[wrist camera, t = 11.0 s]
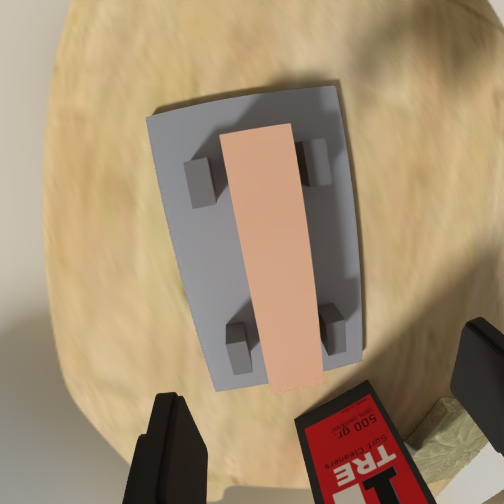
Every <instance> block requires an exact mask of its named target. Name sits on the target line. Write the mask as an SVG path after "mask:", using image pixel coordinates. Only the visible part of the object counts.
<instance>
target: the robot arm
mask: <svg viewBox="0 0 504 504" xmlns="http://www.w3.org/2000/svg"><path fill="white" fill-rule="evenodd" d="M450 388H451V392H452V393H453V395H454V396H455V397H456V398H457V400H458V401H459V402H460V404H461V405H462V406H463V407H464V409H465V410H466V411H467V413H468V414H469V415H470V417H471V418H472V419H473V421H474V422H475V423H476V425H477V426H478V427H479V429H480V430H481V431H482V433H483V434H484V435H485V437H486V438H487V439H488V441H489V442H490V443H491V445H492V446H493V447H494V449H495V450H496V451H497V452H498V453H501V454H502V455H503V456H504V335H503V334H502V333H501V332H500V331H499V330H497V329H496V328H495V327H494V326H492V325H491V324H490V323H489V322H487V321H486V320H485V319H484V318H482V317H478V318H475V319H473V320H470V321H468V322H466V324H465V326H464V328H463V329H462V333H461V339H460V344H459V349H458V354H457V358H456V363H455V367H454V371H453V376H452V380H451V384H450ZM207 466H208V452H207V448H206V445H205V443H204V441H203V439H202V437H201V435H200V433H199V431H198V428H197V426H196V424H195V422H194V420H193V417H192V415H191V413H190V411H189V409H188V406H187V404H186V402H185V399H184V397H183V396H178V395H177V393H176V392H169V393H158V394H157V395H156V397H155V401H154V405H153V409H152V413H151V417H150V421H149V425H148V429H147V433H146V434H141V435H140V436H139V438H138V440H137V444H136V448H135V452H134V456H133V460H132V464H131V468H130V473H129V476H128V481H127V485H126V489H125V494H124V499H123V503H122V504H206V497H207ZM482 504H504V490H502V491H501V492H499V493H498V494H496V495H495V496H493V497H491V498H490V499H488V500H487V501H485V502H484V503H482Z"/></svg>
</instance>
